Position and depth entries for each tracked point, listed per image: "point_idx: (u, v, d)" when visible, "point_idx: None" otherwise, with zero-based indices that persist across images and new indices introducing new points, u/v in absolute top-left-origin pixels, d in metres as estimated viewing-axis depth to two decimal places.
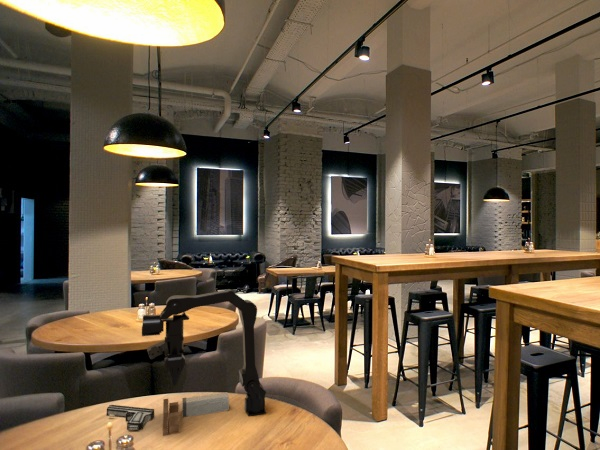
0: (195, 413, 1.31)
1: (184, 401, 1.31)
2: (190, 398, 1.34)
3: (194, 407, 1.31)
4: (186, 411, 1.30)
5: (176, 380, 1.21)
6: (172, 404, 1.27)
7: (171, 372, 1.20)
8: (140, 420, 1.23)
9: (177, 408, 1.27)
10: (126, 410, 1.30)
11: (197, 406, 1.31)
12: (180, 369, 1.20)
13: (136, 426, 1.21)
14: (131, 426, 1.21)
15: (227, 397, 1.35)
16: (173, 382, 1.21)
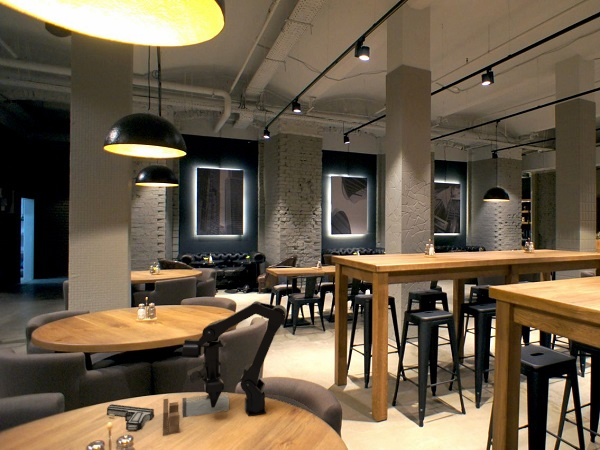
0: (195, 413, 1.31)
1: (184, 401, 1.31)
2: (190, 398, 1.34)
3: (194, 407, 1.31)
4: (186, 411, 1.30)
5: (215, 403, 1.30)
6: (172, 404, 1.27)
7: (210, 395, 1.29)
8: (139, 420, 1.23)
9: (177, 408, 1.27)
10: (126, 410, 1.30)
11: (197, 406, 1.31)
12: (219, 392, 1.30)
13: (135, 426, 1.21)
14: (130, 426, 1.21)
15: (227, 397, 1.35)
16: (212, 405, 1.30)
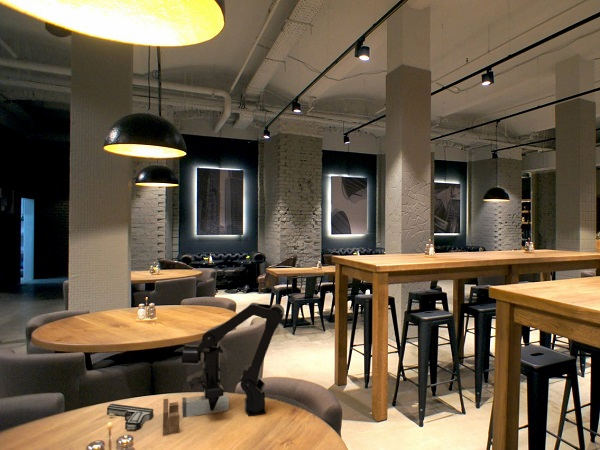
0: (195, 413, 1.31)
1: (184, 401, 1.31)
2: (190, 397, 1.34)
3: (194, 407, 1.31)
4: (186, 411, 1.30)
5: (214, 406, 1.33)
6: (172, 404, 1.27)
7: (209, 398, 1.31)
8: (138, 420, 1.23)
9: (177, 408, 1.27)
10: (126, 409, 1.31)
11: (197, 406, 1.31)
12: None
13: (134, 426, 1.21)
14: (129, 426, 1.21)
15: (227, 397, 1.35)
16: (211, 408, 1.32)
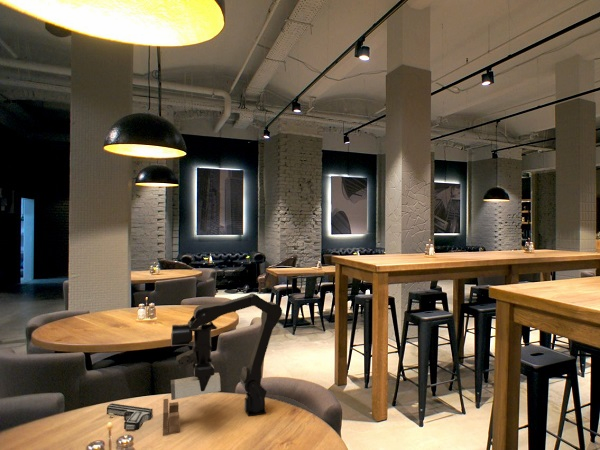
0: (185, 395, 1.24)
1: (172, 383, 1.23)
2: (179, 379, 1.27)
3: (183, 389, 1.24)
4: (175, 393, 1.23)
5: (204, 386, 1.25)
6: (172, 404, 1.27)
7: (200, 378, 1.24)
8: (137, 420, 1.23)
9: (177, 408, 1.27)
10: (125, 409, 1.31)
11: (186, 387, 1.24)
12: (208, 376, 1.25)
13: (133, 426, 1.21)
14: (128, 425, 1.21)
15: (218, 377, 1.28)
16: (202, 388, 1.25)
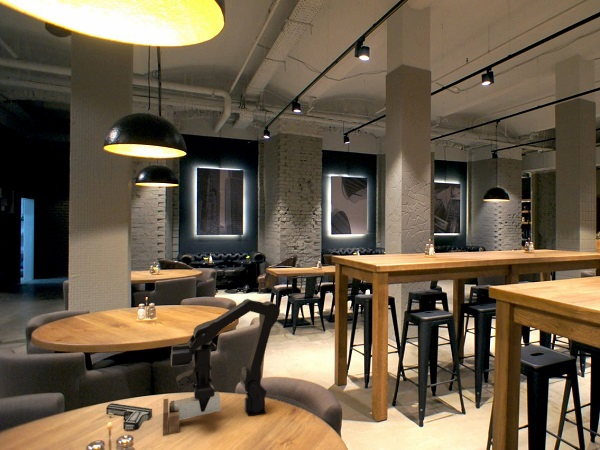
0: (185, 416, 1.23)
1: (172, 404, 1.23)
2: (179, 400, 1.26)
3: (183, 410, 1.23)
4: None
5: (204, 407, 1.25)
6: None
7: (200, 399, 1.24)
8: (136, 420, 1.23)
9: None
10: (125, 409, 1.31)
11: (186, 408, 1.24)
12: None
13: (132, 426, 1.21)
14: (127, 425, 1.21)
15: (218, 397, 1.27)
16: (202, 409, 1.25)
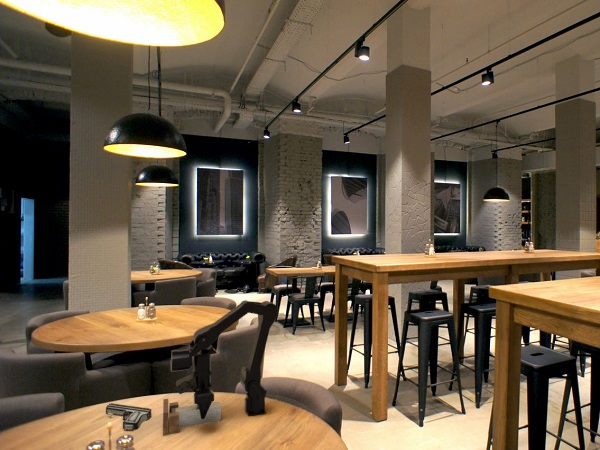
0: (185, 424, 1.23)
1: (173, 411, 1.23)
2: (180, 407, 1.26)
3: (183, 418, 1.23)
4: None
5: (205, 414, 1.23)
6: (172, 404, 1.27)
7: (200, 406, 1.22)
8: (136, 420, 1.23)
9: None
10: (124, 409, 1.31)
11: (187, 416, 1.24)
12: (209, 403, 1.23)
13: (131, 426, 1.21)
14: (126, 425, 1.21)
15: (219, 407, 1.27)
16: (202, 416, 1.23)
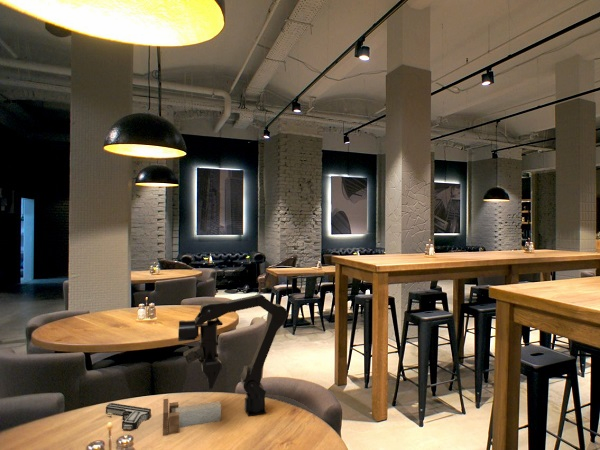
0: (185, 424, 1.23)
1: (173, 411, 1.23)
2: (180, 407, 1.26)
3: (184, 418, 1.23)
4: None
5: (212, 383, 1.25)
6: (172, 404, 1.27)
7: (208, 376, 1.24)
8: (135, 420, 1.23)
9: None
10: (124, 409, 1.31)
11: (187, 416, 1.24)
12: (216, 373, 1.25)
13: (130, 425, 1.21)
14: (125, 425, 1.21)
15: (219, 407, 1.27)
16: (210, 386, 1.25)
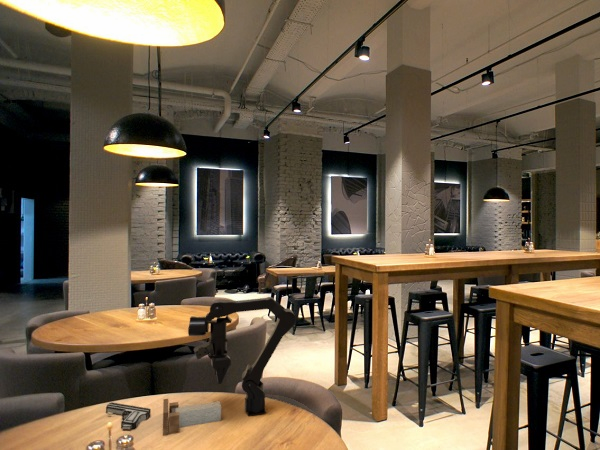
0: (185, 424, 1.23)
1: (173, 411, 1.23)
2: (180, 407, 1.26)
3: (184, 418, 1.23)
4: None
5: (221, 379, 1.29)
6: (172, 404, 1.27)
7: (217, 371, 1.27)
8: (134, 419, 1.23)
9: None
10: (124, 409, 1.31)
11: (187, 416, 1.24)
12: (225, 369, 1.28)
13: (129, 425, 1.21)
14: (124, 425, 1.21)
15: (219, 407, 1.27)
16: (219, 381, 1.28)
